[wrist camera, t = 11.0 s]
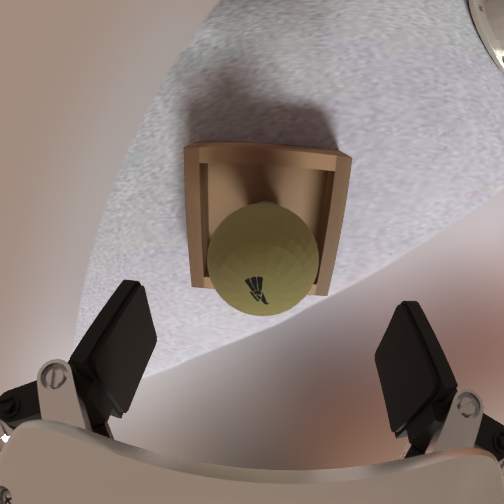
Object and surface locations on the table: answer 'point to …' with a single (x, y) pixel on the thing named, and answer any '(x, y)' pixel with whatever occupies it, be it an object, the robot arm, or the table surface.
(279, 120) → the table surface
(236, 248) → the light bulb
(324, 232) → the open wooden box
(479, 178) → the table surface
